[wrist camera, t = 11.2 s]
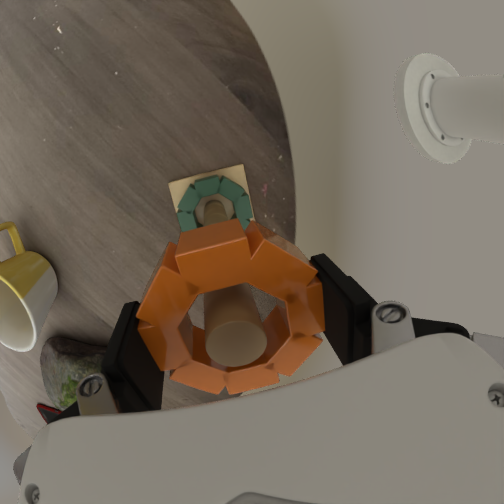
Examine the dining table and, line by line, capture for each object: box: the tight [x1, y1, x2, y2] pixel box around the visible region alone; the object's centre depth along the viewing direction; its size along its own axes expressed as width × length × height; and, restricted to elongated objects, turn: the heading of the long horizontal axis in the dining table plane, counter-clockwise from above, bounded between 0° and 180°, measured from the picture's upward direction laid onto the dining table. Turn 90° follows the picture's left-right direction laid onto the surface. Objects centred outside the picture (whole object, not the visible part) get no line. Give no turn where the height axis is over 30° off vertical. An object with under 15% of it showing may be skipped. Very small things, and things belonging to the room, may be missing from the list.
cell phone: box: [37, 404, 62, 424], centre depth 39 cm, size 8×15×1 cm, turn 80°
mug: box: [0, 222, 58, 352], centre depth 23 cm, size 14×10×10 cm
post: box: [168, 164, 267, 367], centre depth 19 cm, size 8×8×22 cm
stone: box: [40, 337, 107, 411], centre depth 30 cm, size 19×14×10 cm
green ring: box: [176, 174, 253, 232], centre depth 27 cm, size 7×7×2 cm
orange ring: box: [136, 218, 325, 395], centre depth 11 cm, size 7×7×2 cm
